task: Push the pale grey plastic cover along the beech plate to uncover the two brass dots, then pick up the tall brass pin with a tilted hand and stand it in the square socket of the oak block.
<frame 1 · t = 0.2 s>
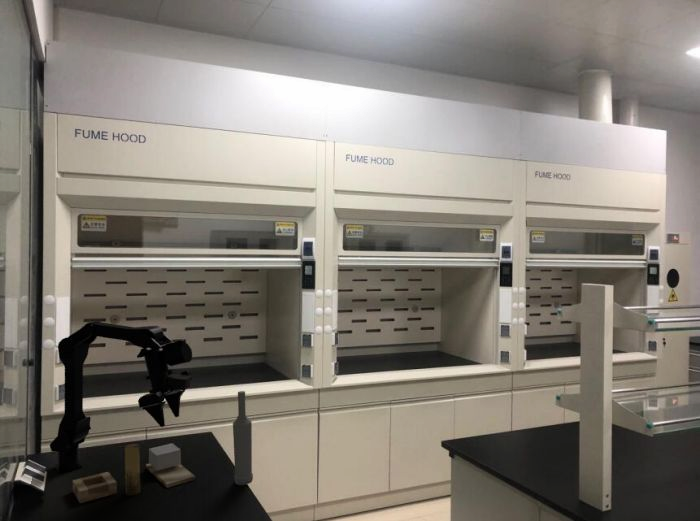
hand: (170, 421, 157), 15 cm above the lab bench, tool pointing down, fingers open, 9 cm apart
cover: (164, 456, 160), point 4 cm above the lab bench, slide at 0.0 cm
brass pin: (133, 492, 145), on the lab bench
socket block: (94, 492, 145), on the lab bench
layout plate: (169, 473, 157), on the lab bench
bottle: (243, 482, 150), on the lab bench
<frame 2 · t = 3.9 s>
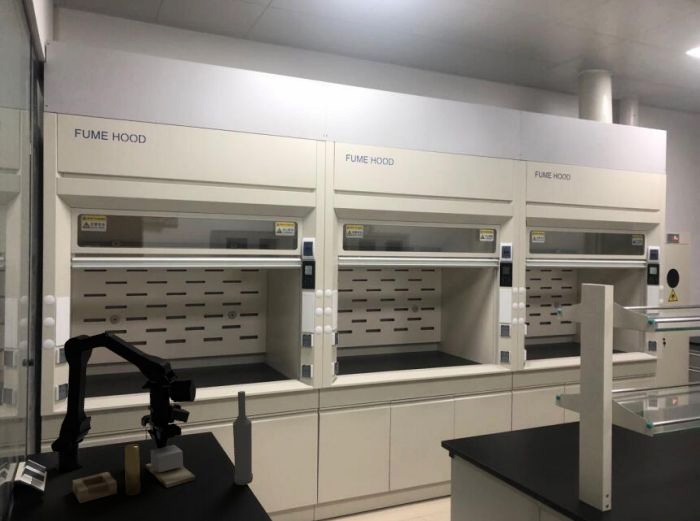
hand: (161, 453, 163), 4 cm above the lab bench, tool pointing down, fingers closed
cover: (166, 458, 159), point 4 cm above the lab bench, slide at 1.7 cm, touching gripper
everything else where it was.
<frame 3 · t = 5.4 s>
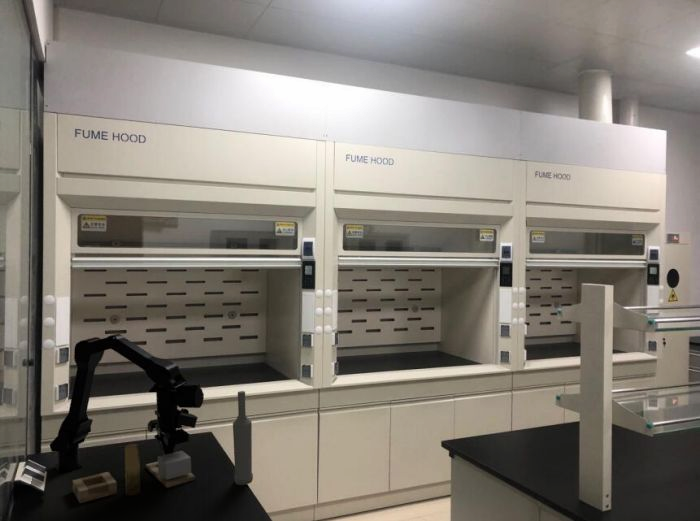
hand: (168, 460, 158), 4 cm above the lab bench, tool pointing down, fingers closed
cover: (174, 464, 154), point 4 cm above the lab bench, slide at 8.0 cm, touching gripper
everything else where it was.
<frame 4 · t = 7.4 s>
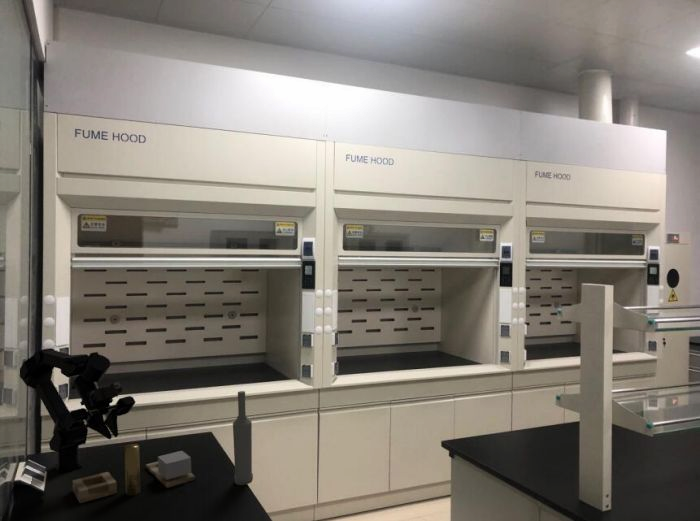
hand: (113, 437, 149), 13 cm above the lab bench, tool tilted 45°, fingers closed
cover: (174, 464, 154), point 4 cm above the lab bench, slide at 8.1 cm
everything else where it was.
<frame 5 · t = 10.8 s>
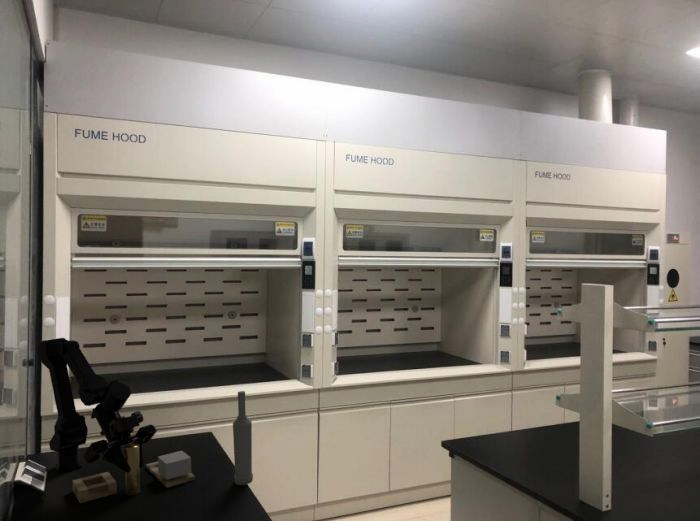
hand: (135, 469, 144), 7 cm above the lab bench, tool tilted 45°, fingers closed on brass pin, 4 cm apart
brass pin: (133, 492, 145), on the lab bench, touching gripper
everything else where it was.
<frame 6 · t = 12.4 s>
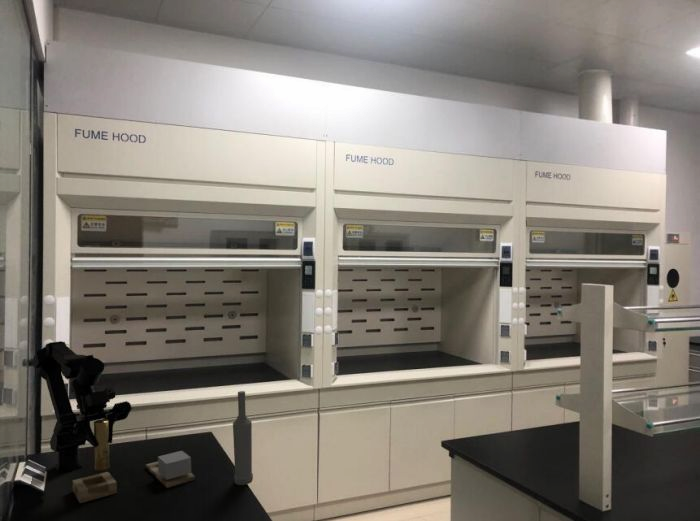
hand: (103, 444, 144), 13 cm above the lab bench, tool tilted 45°, fingers closed on brass pin, 4 cm apart
brass pin: (102, 467, 145), point 7 cm above the lab bench, touching gripper
everything else where it was.
when the fingers open (8 cm above the lab bench, at t = 14.2 s): brass pin drops 1 cm, resting in socket block.
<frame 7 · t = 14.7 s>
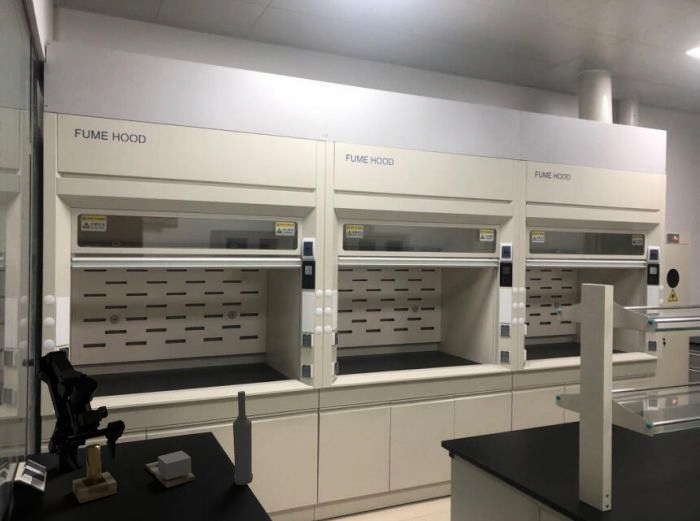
hand: (95, 464, 144), 8 cm above the lab bench, tool tilted 45°, fingers open, 9 cm apart
brass pin: (94, 492, 145), resting in socket block
everything else where it was.
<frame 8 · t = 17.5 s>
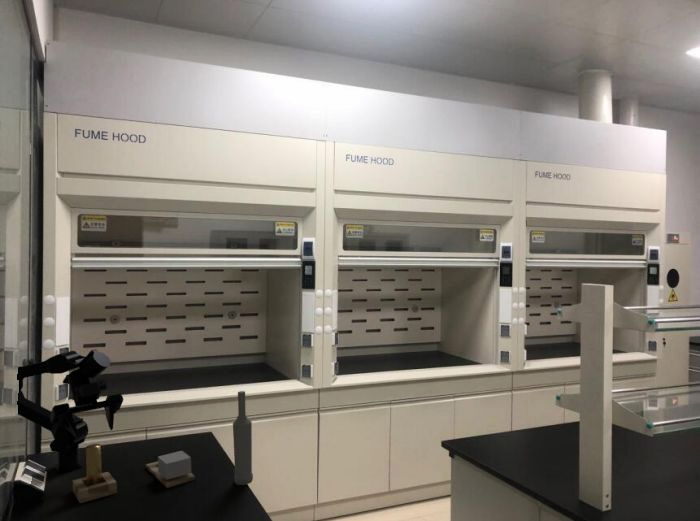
hand: (95, 433, 152), 14 cm above the lab bench, tool tilted 45°, fingers open, 9 cm apart
nothing on the lab bench moved.
at the end: cover slide at 8.1 cm; brass pin 0.0 cm off-centre on the socket block, point 0.0 cm above the socket block's base; brass pin tilted 0° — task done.
